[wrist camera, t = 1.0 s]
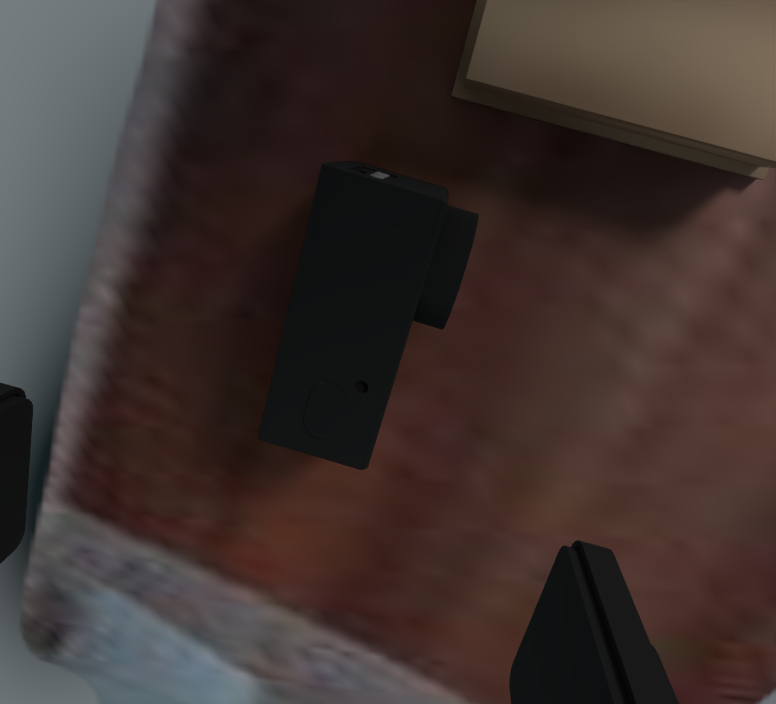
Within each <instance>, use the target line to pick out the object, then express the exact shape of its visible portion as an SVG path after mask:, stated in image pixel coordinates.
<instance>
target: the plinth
mask: <svg viewBox="0 0 776 704" xmlns="http://www.w3.org/2000/svg"><path fill="white" fill-rule="evenodd" d="M451 97H454V98H458V99H461V100H465V101H469V102H472V103H476V104H480V105H484V106H487V107H491V108H495V109H498V110H502V111H506V112H510V113H513V114H517V115H521V116H524V117H528V118H532V119H536V120H539V121H543V122H547V123H550V124H554V125H558V126H562V127H565V128H569V129H573V130H576V131H580V132H584V133H588V134H591V135H595V136H599V137H603V138H606V139H610V140H614V141H617V142H621V143H625V144H629V145H632V146H636V147H640V148H643V149H647V150H651V151H655V152H658V153H662V154H666V155H669V156H673V157H677V158H681V159H684V160H688V161H692V162H695V163H699V164H703V165H707V166H710V167H714V168H718V169H721V170H725V171H729V172H733V173H736V174H740V175H744V176H747V177H751V178H755V179H761V180H765V178H766V176H767V173H768V171H769V169H770V168H776V0H477V1H476V5H475V8H474V12H473V16H472V20H471V23H470V27H469V31H468V35H467V38H466V42H465V46H464V50H463V53H462V57H461V61H460V65H459V68H458V72H457V76H456V80H455V83H454V87H453V91H452V95H451Z"/></svg>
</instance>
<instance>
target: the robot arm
mask: <svg viewBox="0 0 776 704" xmlns="http://www.w3.org/2000/svg"><path fill="white" fill-rule="evenodd" d="M32 417H33V405H32V402H31V401H30V400H29V399H26V395H25V392H24V391H23V390H22V389H21V388H17V387H14V386H10V385H6V384H3V383H0V563H2V562H3V561H4V560H5V559H6V558H7V557H8V556H9V555H10V554H11V553H12V552H13V551H14V550H15V549H16V548H17V547H18V545H19V544H20V542H21V540H22V537H23V535H24V531H25V521H26V507H27V491H28V477H29V476H28V475H29V462H30V447H31V432H32ZM509 685H510V696H511V704H679V703H678V701H677V698H676V696H675V694H674V691H673V689H672V686H671V684H670V682H669V679H668V677H667V674H666V672H665V670H664V667H663V665H662V662H661V660H660V658H659V655H658V653H657V651H656V650H655V648H654V646H653V645H651V644H650V641H649V639H648V636H647V634H646V631H645V629H644V626H643V624H642V622H641V619H640V617H639V614H638V612H637V609H636V607H635V605H634V602H633V600H632V597H631V595H630V592H629V590H628V588H627V585H626V583H625V580H624V578H623V575H622V573H621V571H620V568H619V566H618V563H617V561H616V558H615V556H614V554H613V552H612V550H610V549H608V548H604V547H601V546H597V545H593V544H590V543H586V542H582V541H579V540H577V541H575V542H574V543H573V544H572V546H571V547H568V546H562V547H561V549H560V550H559V552H558V555H557V557H556V560H555V562H554V564H553V567H552V569H551V572H550V574H549V577H548V579H547V581H546V584H545V586H544V589H543V591H542V594H541V596H540V598H539V601H538V603H537V606H536V608H535V611H534V613H533V615H532V618H531V620H530V623H529V625H528V628H527V630H526V632H525V635H524V637H523V640H522V642H521V645H520V647H519V649H518V652H517V654H516V657H515V659H514V662H513V665H512V668H511V673H510V683H509Z"/></svg>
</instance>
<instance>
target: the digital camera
mask: <svg viewBox="0 0 776 704" xmlns="http://www.w3.org/2000/svg"><path fill="white" fill-rule="evenodd" d="M477 222H478V214H476V213H472V212H469V211H465V210H462V209H458V208H455V207H451V206H448V191H447V189H446V188H444V187H441V186H437V185H434V184H431V183H427V182H424V181H420V180H417V179H414V178H410V177H407V176H404V175H400V174H397V173H394V172H390V171H387V170H383V169H380V168H377V167H373V166H370V165H367V164H363V163H360V162H356V161H343V162H330V163H325V164H322V167H321V171H320V175H319V179H318V183H317V188H316V192H315V196H314V200H313V205H312V209H311V213H310V217H309V222H308V226H307V230H306V234H305V239H304V243H303V247H302V251H301V256H300V260H299V264H298V269H297V273H296V277H295V281H294V286H293V290H292V294H291V299H290V303H289V307H288V311H287V316H286V320H285V324H284V329H283V333H282V337H281V341H280V346H279V350H278V354H277V359H276V363H275V367H274V372H273V376H272V380H271V385H270V389H269V393H268V398H267V402H266V406H265V411H264V415H263V419H262V424H261V428H260V432H259V437H258V439H260V440H262V441H265V442H269V443H272V444H276V445H279V446H283V447H286V448H289V449H293V450H296V451H299V452H303V453H306V454H309V455H313V456H316V457H319V458H323V459H326V460H329V461H333V462H336V463H339V464H343V465H346V466H350V467H353V468H356V469H360V470H364V469H366V468H367V467H368V465H369V462H370V458H371V455H372V452H373V449H374V445H375V442H376V439H377V436H378V432H379V429H380V426H381V422H382V419H383V416H384V413H385V409H386V406H387V403H388V400H389V396H390V393H391V390H392V386H393V383H394V380H395V377H396V373H397V370H398V367H399V364H400V360H401V357H402V354H403V351H404V347H405V344H406V341H407V337H408V334H409V331H410V328H411V324H412V321H416V322H420V323H423V324H426V325H429V326H432V327H436V328H439V329H443V328H444V327H445V324H446V322H447V320H448V318H449V315H450V313H451V310H452V307H453V305H454V302H455V299H456V296H457V293H458V290H459V287H460V284H461V281H462V278H463V275H464V271H465V268H466V265H467V262H468V258H469V255H470V251H471V248H472V244H473V240H474V236H475V232H476V228H477Z"/></svg>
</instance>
